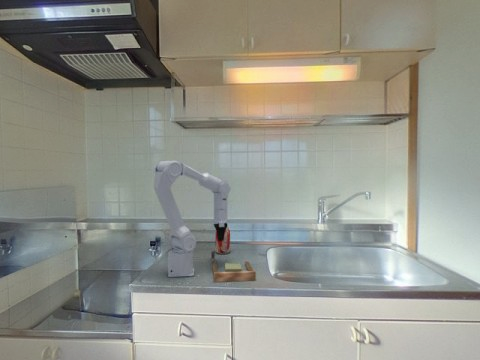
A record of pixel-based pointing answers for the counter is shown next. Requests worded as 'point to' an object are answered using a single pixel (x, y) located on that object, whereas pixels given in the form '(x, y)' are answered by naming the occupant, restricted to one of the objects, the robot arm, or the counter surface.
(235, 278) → the bay
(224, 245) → the soda can
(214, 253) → the crank handle
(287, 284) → the counter surface
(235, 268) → the box
